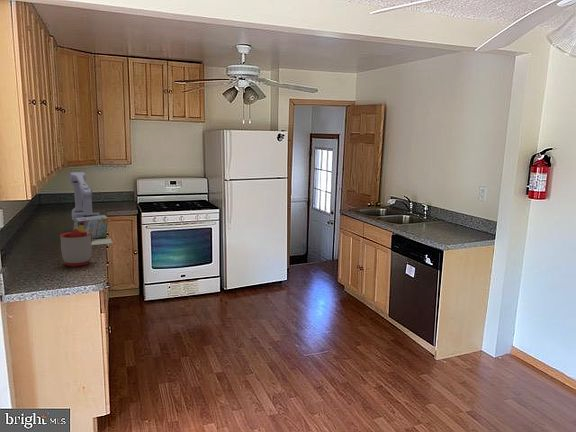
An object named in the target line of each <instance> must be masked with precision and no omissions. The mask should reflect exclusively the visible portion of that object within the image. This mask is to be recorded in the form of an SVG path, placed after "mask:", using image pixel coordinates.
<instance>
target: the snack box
mask: <svg viewBox="0 0 576 432" xmlns="http://www.w3.org/2000/svg"><path fill="white" fill-rule="evenodd" d="M108 224H109V217H108V216H106V215H105V214H104V215H100V216H92V217H81V218H75V220H74V223H73V229H72V231H73V230H74V229H77V230H79V231H84V232H87V235H89V234H91V235H92V239H103V238H107V231H108Z"/></svg>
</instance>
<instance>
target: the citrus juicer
mask: <svg viewBox="0 0 576 432" xmlns="http://www.w3.org/2000/svg"><path fill="white" fill-rule="evenodd" d="M73 229H74V228H73ZM73 229H72V231H68V232H63V233H61V234H60V235H59V236H60V238H59V239H60V250H61V251H60V253H61V256H62V260H63V262H64V264H65V266H66V267H67V266H68V267H72V268H75V267H82V266H86V265H88V264H89V263H90V261H91V257H92V247H93V245H91V242H92V241H94V239H92V235H91V234H89V235H87V232H84V231H79V230H77V229H74V230H73Z"/></svg>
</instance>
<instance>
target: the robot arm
mask: <svg viewBox="0 0 576 432" xmlns="http://www.w3.org/2000/svg"><path fill="white" fill-rule="evenodd" d="M86 175H87V174H86V173H85V171H80V172H79V171H78V172H76V171H75V172H74V171H73V172H70V173H69V183H70V185H72V186H73V193H74V205H75V207H74V208H73V209H71V220H72V221H74V220H75V218H81V217H92V216H101V215H100V212H93V200H92V198H93V190H92V188H90V186H89V185H88V183H86V182H85V181H86V180H87V177H86Z"/></svg>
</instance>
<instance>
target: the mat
mask: <svg viewBox="0 0 576 432" xmlns="http://www.w3.org/2000/svg"><path fill="white" fill-rule="evenodd" d="M110 244H111V245H112V244H114V242H113V240H112V239H111V238H95V239H94V241H92V242H91V246H98V245H99V246H100V245H110Z"/></svg>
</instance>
